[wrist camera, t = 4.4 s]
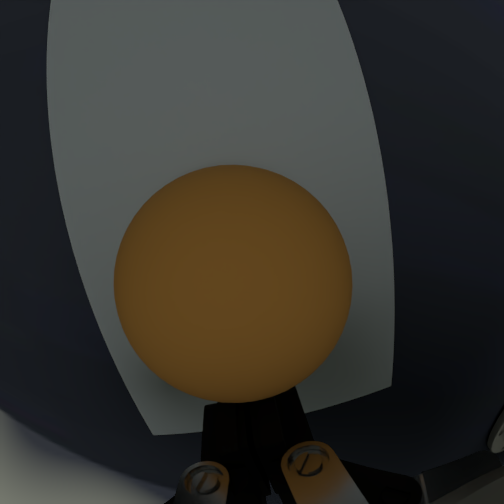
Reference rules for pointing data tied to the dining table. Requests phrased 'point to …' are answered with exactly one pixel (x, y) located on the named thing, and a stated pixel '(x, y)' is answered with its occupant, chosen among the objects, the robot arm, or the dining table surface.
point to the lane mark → (218, 154)
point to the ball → (233, 283)
